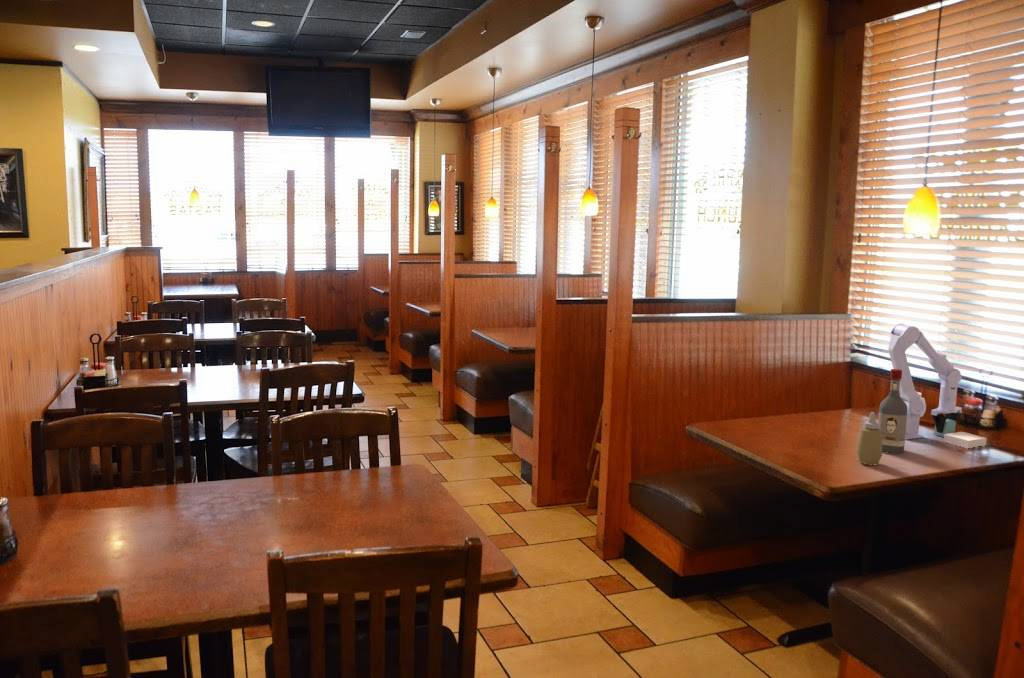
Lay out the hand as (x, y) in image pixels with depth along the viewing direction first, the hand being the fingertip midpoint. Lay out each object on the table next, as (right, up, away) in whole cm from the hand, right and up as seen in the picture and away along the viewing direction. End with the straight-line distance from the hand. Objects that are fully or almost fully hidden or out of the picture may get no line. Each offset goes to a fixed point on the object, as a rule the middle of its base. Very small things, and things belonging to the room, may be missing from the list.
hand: (944, 431), depth 314 cm
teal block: (0, -1, 0) cm, 1 cm away
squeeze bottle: (-46, -7, -37) cm, 59 cm away
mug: (-1, +1, +22) cm, 23 cm away
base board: (+2, -3, -11) cm, 12 cm away
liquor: (-31, -5, -21) cm, 38 cm away
